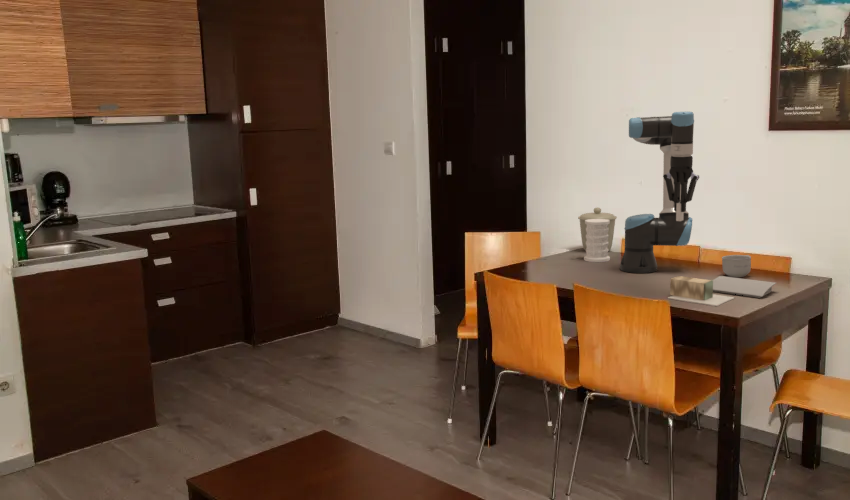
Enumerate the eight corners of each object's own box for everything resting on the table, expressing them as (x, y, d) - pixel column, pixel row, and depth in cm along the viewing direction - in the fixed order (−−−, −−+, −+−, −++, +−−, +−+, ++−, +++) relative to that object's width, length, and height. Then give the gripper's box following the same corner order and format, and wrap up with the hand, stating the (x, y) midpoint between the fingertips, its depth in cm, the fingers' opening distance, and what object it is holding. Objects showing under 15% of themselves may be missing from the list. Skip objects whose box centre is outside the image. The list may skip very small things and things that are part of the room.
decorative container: (579, 258, 344) (579, 219, 341) (601, 256, 348) (601, 218, 345) (592, 263, 334) (592, 223, 330) (615, 260, 337) (615, 221, 334)
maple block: (670, 278, 269) (705, 283, 260) (678, 275, 273) (713, 280, 264) (670, 294, 270) (705, 300, 261) (678, 291, 274) (712, 297, 265)
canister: (617, 254, 352) (617, 209, 348) (578, 254, 355) (578, 210, 352) (615, 247, 369) (615, 205, 365) (578, 247, 373) (578, 205, 369)
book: (718, 284, 287) (718, 274, 287) (781, 292, 272) (781, 282, 271) (701, 292, 277) (701, 281, 276) (765, 301, 261) (766, 290, 260)
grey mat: (667, 298, 267) (667, 297, 267) (685, 291, 276) (686, 290, 276) (716, 306, 254) (716, 305, 254) (734, 298, 264) (734, 297, 264)
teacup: (735, 280, 292) (736, 259, 290) (715, 275, 302) (715, 255, 300) (762, 276, 297) (763, 256, 295) (741, 271, 307) (742, 252, 305)
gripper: (659, 156, 269) (658, 220, 274) (694, 157, 260) (692, 223, 265) (669, 154, 274) (667, 217, 279) (703, 155, 265) (701, 220, 270)
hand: (679, 220), depth 272 cm, fingers closed
